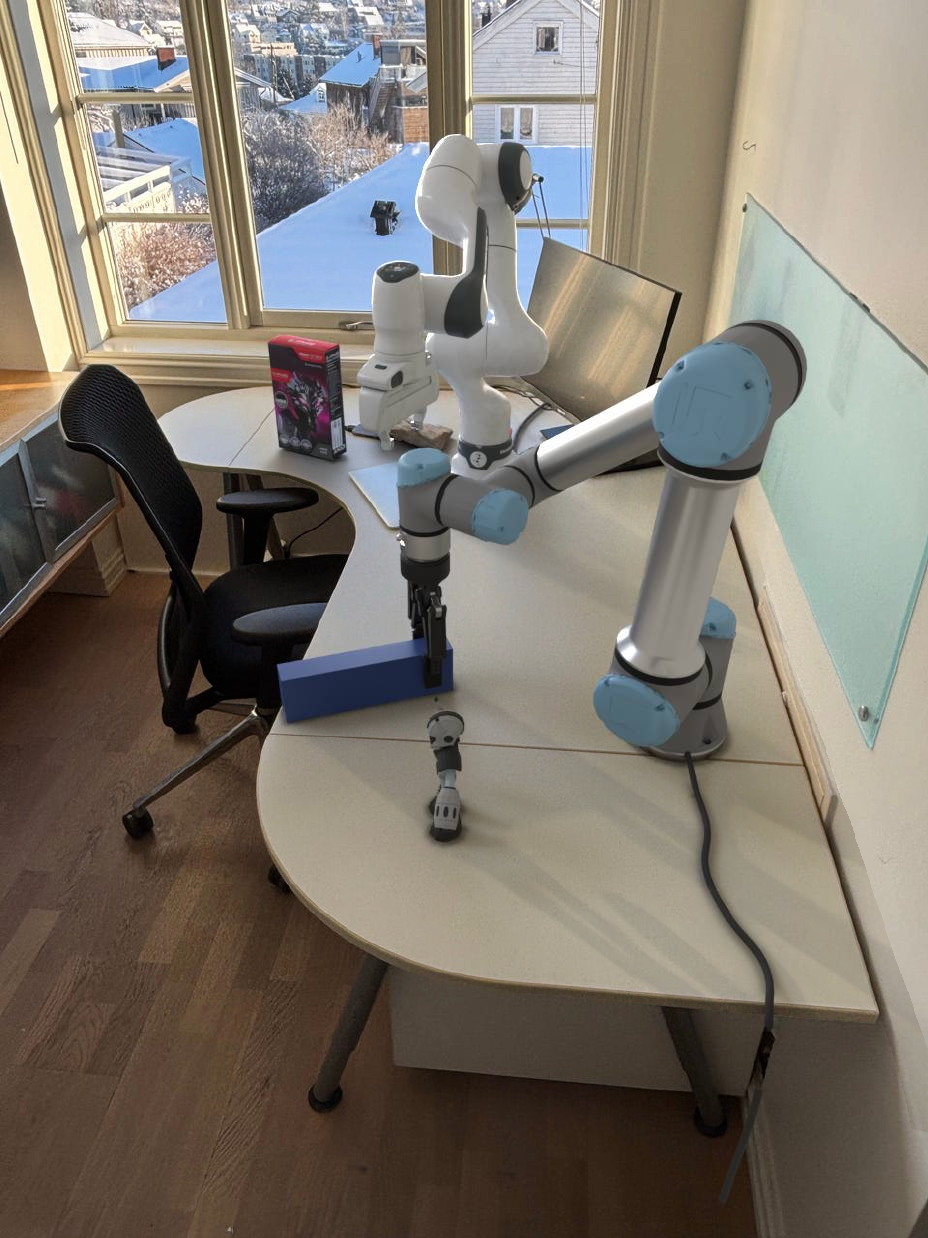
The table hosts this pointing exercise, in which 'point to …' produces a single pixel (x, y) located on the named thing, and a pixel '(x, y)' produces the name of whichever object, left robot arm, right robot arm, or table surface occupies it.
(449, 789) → the robot
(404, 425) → the stone
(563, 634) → the table surface
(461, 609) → the table surface
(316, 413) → the graphics card box
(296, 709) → the bar
